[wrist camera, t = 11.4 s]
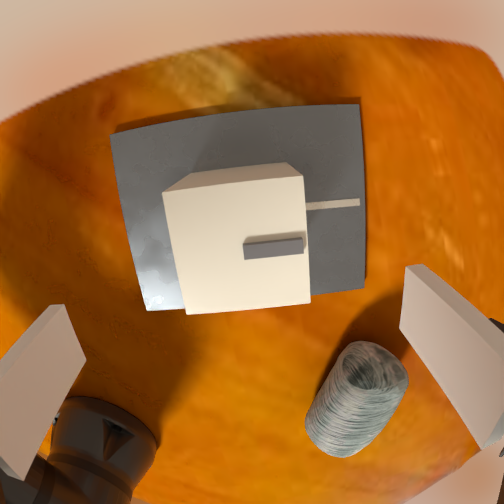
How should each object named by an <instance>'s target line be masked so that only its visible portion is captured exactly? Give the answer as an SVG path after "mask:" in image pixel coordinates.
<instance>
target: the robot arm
mask: <svg viewBox="0 0 504 504" xmlns="http://www.w3.org/2000/svg"><path fill="white" fill-rule="evenodd" d="M399 329H400V331H401V332H402V333H403V335H404V336H405V337H406V339H407V340H408V341H409V343H410V344H411V346H412V347H413V348H414V350H415V351H416V352H417V354H418V355H419V357H420V358H421V359H422V361H423V362H424V364H425V365H426V366H427V368H428V369H429V371H430V372H431V374H432V375H433V377H434V378H435V379H436V381H437V382H438V384H439V385H440V387H441V388H442V390H443V391H444V393H445V394H446V396H447V397H448V399H449V400H450V402H451V403H452V405H453V406H454V408H455V409H456V411H457V412H458V414H459V415H460V417H461V418H462V420H463V421H464V423H465V425H466V426H467V428H468V429H469V431H470V432H471V434H472V436H473V437H474V439H475V440H476V442H477V444H478V445H479V447H480V449H481V450H482V449H483V448H485V447H487V446H489V445H491V444H493V443H495V442H497V441H499V440H500V439H501V438H502V436H503V434H504V324H502V323H500V322H498V321H496V320H494V319H492V318H490V319H488V318H487V317H485V316H484V315H483V314H482V313H481V312H480V311H479V310H478V309H476V308H475V307H474V306H473V305H472V304H471V303H470V302H468V301H467V300H466V299H465V298H464V297H463V296H461V295H460V294H459V293H458V292H457V291H455V290H454V289H453V288H452V287H451V286H449V285H448V284H447V283H446V282H445V281H443V280H442V279H441V278H440V277H439V276H437V275H436V274H435V273H434V272H432V271H431V270H430V269H429V268H427V267H426V266H425V265H424V264H418V265H411V266H406V269H405V281H404V292H403V301H402V310H401V318H400V326H399ZM85 362H86V357H85V355H84V353H83V351H82V348H81V346H80V344H79V341H78V339H77V336H76V334H75V331H74V329H73V326H72V324H71V321H70V319H69V316H68V313H67V311H66V308H65V305H64V304H58V305H50V306H49V307H48V308H47V309H46V310H45V311H44V312H43V313H42V314H41V315H40V316H39V317H38V318H37V319H36V320H35V321H34V323H33V324H32V325H31V326H30V327H29V328H28V329H27V330H26V331H25V332H24V334H23V335H22V336H21V337H20V338H19V339H18V340H17V341H16V343H15V344H14V345H13V346H12V347H11V348H10V349H9V351H8V352H7V353H6V354H5V355H4V356H3V358H2V359H1V360H0V504H130V501H131V498H132V494H133V490H134V489H135V487H136V486H137V485H138V483H139V482H140V481H141V479H142V478H143V476H144V475H145V474H146V472H147V471H148V469H149V468H150V467H151V465H152V464H153V462H154V458H155V454H156V450H157V444H156V440H155V438H154V436H153V434H152V433H151V432H150V430H149V429H148V428H147V427H146V426H145V425H144V424H143V423H142V422H140V421H139V420H138V419H137V418H135V417H134V416H132V415H131V414H129V413H128V412H126V411H124V410H123V409H121V408H119V407H117V406H115V405H112V404H110V403H107V402H105V401H102V400H98V399H95V398H90V397H81V396H76V397H70V398H67V399H65V397H66V395H67V394H68V392H69V390H70V388H71V386H72V385H73V383H74V381H75V379H76V378H77V376H78V374H79V372H80V371H81V369H82V367H83V365H84V364H85ZM64 399H65V400H64ZM52 422H53V428H52V435H51V447H50V454H49V456H48V458H47V460H45V459H44V458H42V457H41V456H40V455H39V454H37V451H38V449H39V447H40V445H41V443H42V441H43V439H44V437H45V435H46V433H47V431H48V429H49V427H50V425H51V424H52ZM503 455H504V448H503V449H502V451H501V453H500V455H499V457H502V456H503ZM497 504H504V476H503V480H502V485H501V489H500V493H499V497H498V501H497Z"/></svg>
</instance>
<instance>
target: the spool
mask: <svg viewBox="0 0 504 504" xmlns="http://www.w3.org/2000/svg"><path fill="white" fill-rule="evenodd" d="M408 384H409V379H408V374H407V371H406V369H405V368H404V366H403V365H402V363H401V362H400V361H399V360H398V359H397V358H396V357H395V356H394V355H393V354H392V353H391V352H389V351H388V350H386V349H385V348H383V347H382V346H380V345H378V344H376V343H372V342H367V341H355V342H352V343H350V344H348V346H347V347H346V348H345V349H344V350H343V351H342V353H341V354H340V355H339V356H338V358H337V361H336V363H335V365H334V367H333V368H332V370H331V371H330V373H329V375H328V377H327V379H326V380H325V382H324V384H323V385H322V387H321V389H320V391H319V392H318V394H317V395H316V397H315V399H314V401H313V402H312V404H311V407H310V409H309V410H308V412H307V414H306V418H305V428H306V432H307V433H308V435H309V437H310V439H311V440H312V441H313V443H314V444H315V445H316V446H317V447H318V448H319V449H321V450H322V451H323V452H325V453H327V454H329V455H332V456H335V457H344V458H345V457H348V456H351V455H353V454H355V453H357V452H359V451H360V450H362V449H363V448H364V447H366V446H367V445H368V444H369V443H371V442H372V440H373V439H374V438H375V437H376V436H377V435H378V434H379V433H380V432H381V431H382V429H383V428H384V427H385V425H386V424H387V423H388V421H389V420H390V418H391V416H392V415H393V413H394V412H395V410H396V408H397V407H398V405H399V403H400V401H401V399H402V397H403V395H404V393H405V390H406V389H407V387H408Z"/></svg>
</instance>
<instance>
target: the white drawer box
mask: <svg viewBox="0 0 504 504" xmlns="http://www.w3.org/2000/svg"><path fill="white" fill-rule="evenodd" d="M162 196H163V202H164V208H165V213H166V219H167V224H168V230H169V235H170V240H171V245H172V250H173V255H174V260H175V265H176V269H177V274H178V279H179V283H180V288H181V292H182V297H183V301H184V305H185V310H186V314H187V315H189V314H203V313H215V312H227V311H239V310H249V309H260V308H269V307H279V306H288V305H297V304H306V303H311V302H310V276H309V255H308V237H307V221H306V206H305V192H304V180H303V175H302V174H300V173H299V172H298V171H297V170H295V169H294V168H293V167H292V166H290V165H289V164H288V163H287V162H280V163H270V164H260V165H250V166H242V167H233V168H225V169H217V170H210V171H202V172H195V173H190V174H189V175H187V176H186V177H184V178H183V179H181V180H180V181H178V182H177V183H175V184H174V185H172V186H171V187H169V188H168V189H166V190H165V191H163V192H162Z"/></svg>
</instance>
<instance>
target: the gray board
mask: <svg viewBox="0 0 504 504" xmlns="http://www.w3.org/2000/svg"><path fill="white" fill-rule="evenodd" d="M110 142H111V149H112V155H113V162H114V168H115V174H116V180H117V186H118V191H119V196H120V202H121V207H122V212H123V217H124V221H125V226H126V231H127V235H128V240H129V244H130V248H131V253H132V257H133V261H134V265H135V269H136V273H137V277H138V281H139V284H140V288H141V292H142V296H143V299H144V303H145V306H146V310H147V311H156V310H170V309H183V308H185V305H184V301H183V297H182V292H181V288H180V283H179V279H178V274H177V269H176V265H175V260H174V255H173V250H172V245H171V240H170V235H169V230H168V224H167V219H166V213H165V208H164V202H163V196H162V192H163V191H165V190H166V189H168V188H169V187H171V186H172V185H174V184H175V183H177V182H178V181H180V180H181V179H183V178H184V177H186V176H187V175H189V174H190V173H195V172H202V171H210V170H217V169H225V168H233V167H242V166H250V165H260V164H270V163H280V162H287V163H288V164H289V165H290V166H292V167H293V168H294V169H295V170H297V171H298V172H299V173H300V174H302V175H303V180H304V192H305V206H306V221H307V237H308V255H309V276H310V295H317V294H325V293H332V292H340V291H347V290H354V289H361V288H364V280H365V184H364V162H363V146H362V132H361V120H360V110H359V104H338V105H308V106H291V107H277V108H265V109H255V110H245V111H237V112H229V113H221V114H214V115H207V116H200V117H194V118H188V119H182V120H176V121H171V122H165V123H160V124H155V125H150V126H145V127H141V128H136V129H132V130H127V131H123V132H119V133H115V134H110Z"/></svg>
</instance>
